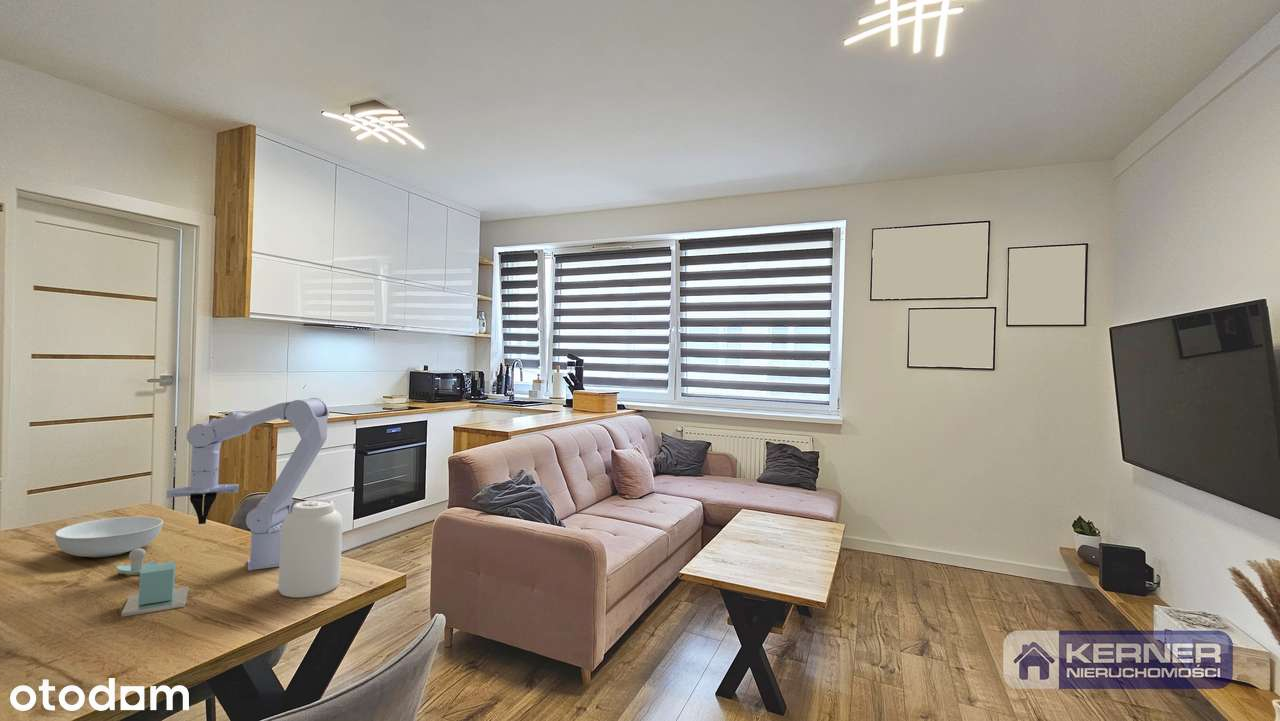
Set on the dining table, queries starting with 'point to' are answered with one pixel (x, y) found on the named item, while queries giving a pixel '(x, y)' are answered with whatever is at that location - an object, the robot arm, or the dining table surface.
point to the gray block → (176, 602)
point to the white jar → (310, 549)
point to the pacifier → (135, 563)
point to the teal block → (157, 583)
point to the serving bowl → (108, 536)
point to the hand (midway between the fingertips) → (202, 523)
